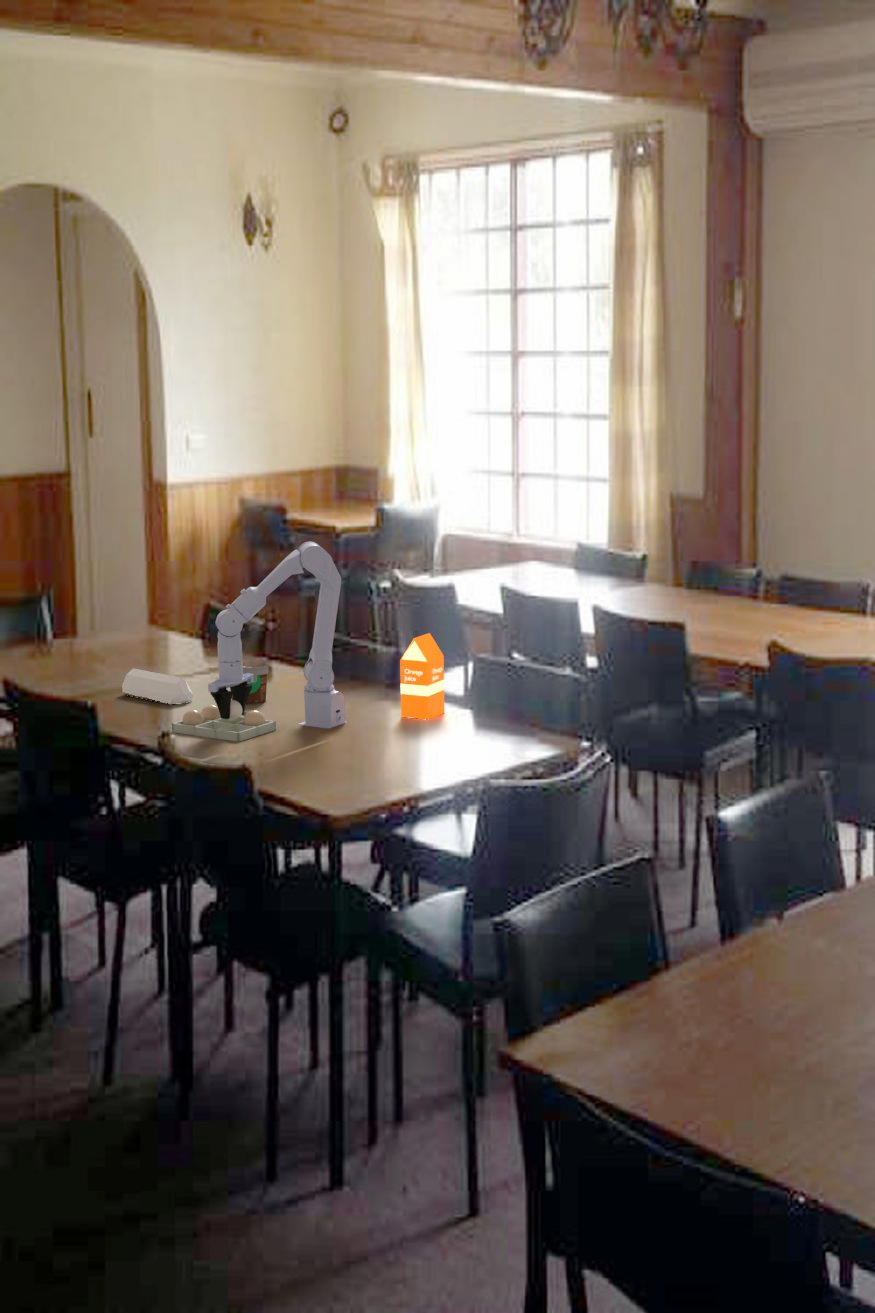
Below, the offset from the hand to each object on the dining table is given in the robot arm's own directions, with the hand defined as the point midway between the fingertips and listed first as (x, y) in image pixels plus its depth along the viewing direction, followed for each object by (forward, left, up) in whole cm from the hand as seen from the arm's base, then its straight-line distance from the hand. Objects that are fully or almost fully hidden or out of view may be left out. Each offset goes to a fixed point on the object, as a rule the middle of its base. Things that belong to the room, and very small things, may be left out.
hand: (232, 716), depth 393 cm
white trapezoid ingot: (+41, -19, -4) cm, 45 cm away
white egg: (0, 0, -1) cm, 1 cm away
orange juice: (-31, -36, -4) cm, 47 cm away
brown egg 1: (+7, +7, -3) cm, 10 cm away
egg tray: (0, +3, -3) cm, 5 cm away
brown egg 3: (-7, 0, -3) cm, 7 cm away
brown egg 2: (+7, 0, -3) cm, 7 cm away
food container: (+17, -25, -4) cm, 30 cm away
